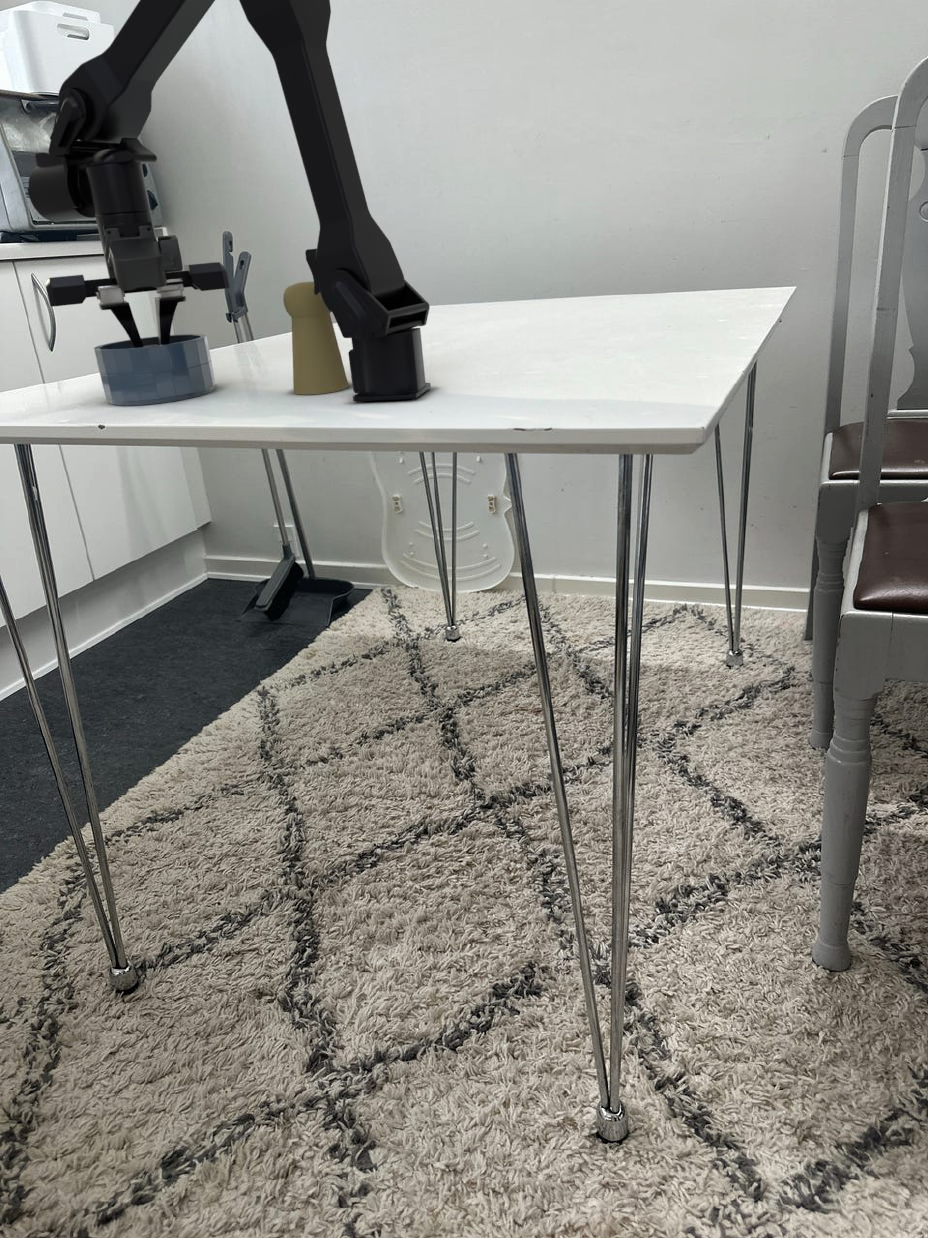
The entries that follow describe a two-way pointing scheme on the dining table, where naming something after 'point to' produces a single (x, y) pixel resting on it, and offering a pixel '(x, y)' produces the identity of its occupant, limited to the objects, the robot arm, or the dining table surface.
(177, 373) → the bowl
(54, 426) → the dining table surface
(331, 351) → the cork
